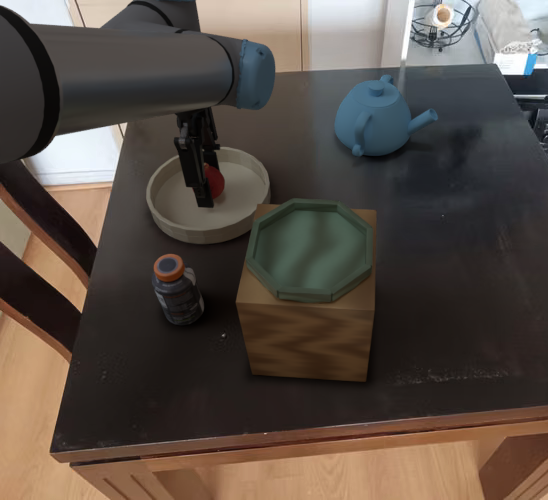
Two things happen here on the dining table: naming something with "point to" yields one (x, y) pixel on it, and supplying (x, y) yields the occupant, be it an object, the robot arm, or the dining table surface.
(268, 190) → the cream bowl
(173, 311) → the pill bottle
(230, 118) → the dining table surface
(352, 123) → the teapot
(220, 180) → the onion
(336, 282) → the stand
